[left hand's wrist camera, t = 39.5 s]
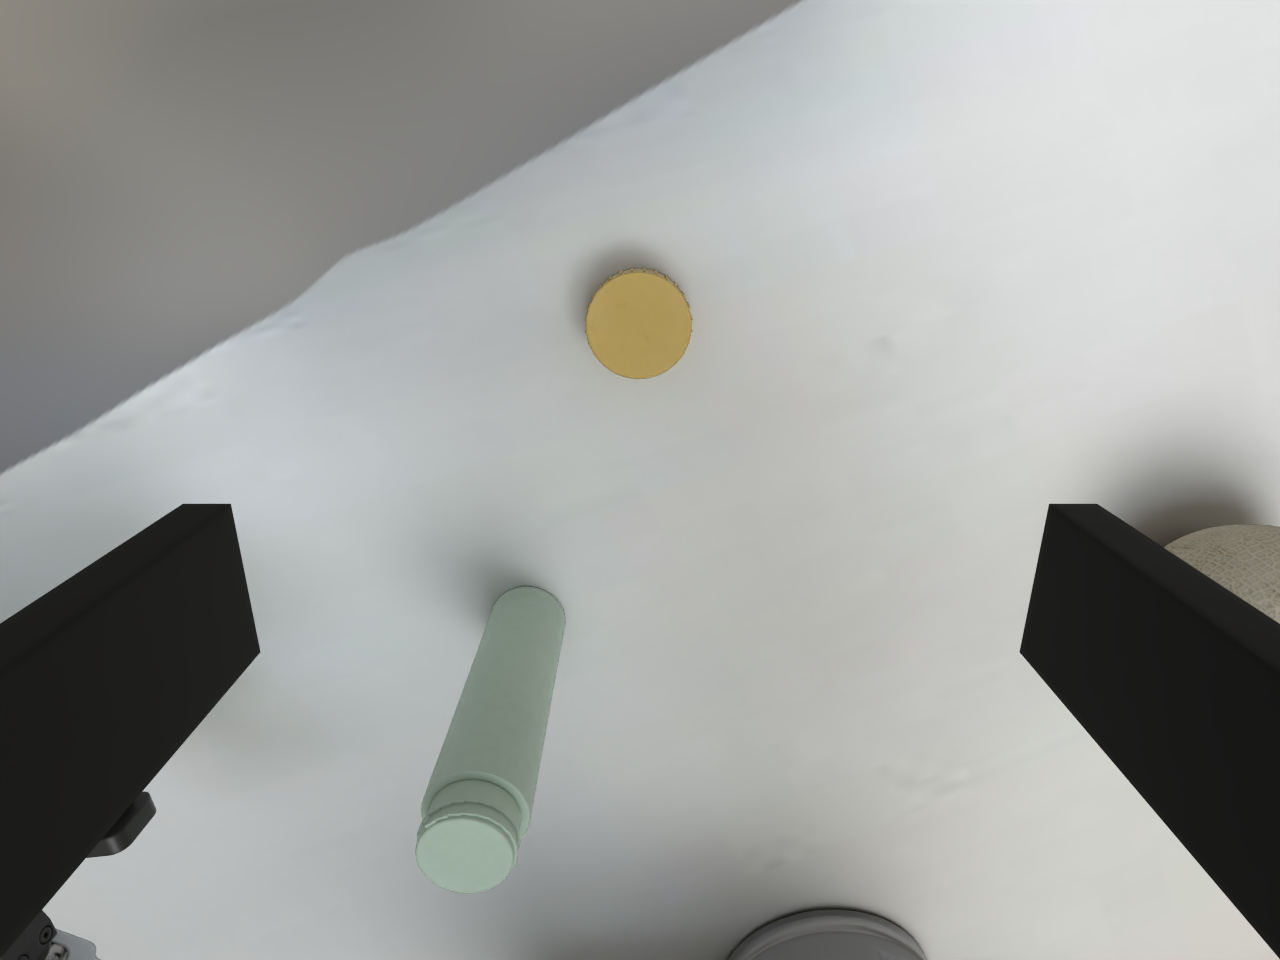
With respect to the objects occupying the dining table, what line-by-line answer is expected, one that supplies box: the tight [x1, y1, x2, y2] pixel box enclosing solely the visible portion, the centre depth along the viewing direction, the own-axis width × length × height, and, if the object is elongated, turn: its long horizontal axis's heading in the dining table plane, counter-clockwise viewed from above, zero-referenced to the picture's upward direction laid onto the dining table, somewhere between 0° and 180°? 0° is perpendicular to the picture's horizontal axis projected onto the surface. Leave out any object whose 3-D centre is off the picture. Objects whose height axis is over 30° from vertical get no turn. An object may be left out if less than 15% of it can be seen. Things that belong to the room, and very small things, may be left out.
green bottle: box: [416, 586, 565, 894], centre depth 37 cm, size 4×4×17 cm
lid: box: [585, 267, 692, 379], centre depth 38 cm, size 5×5×2 cm
